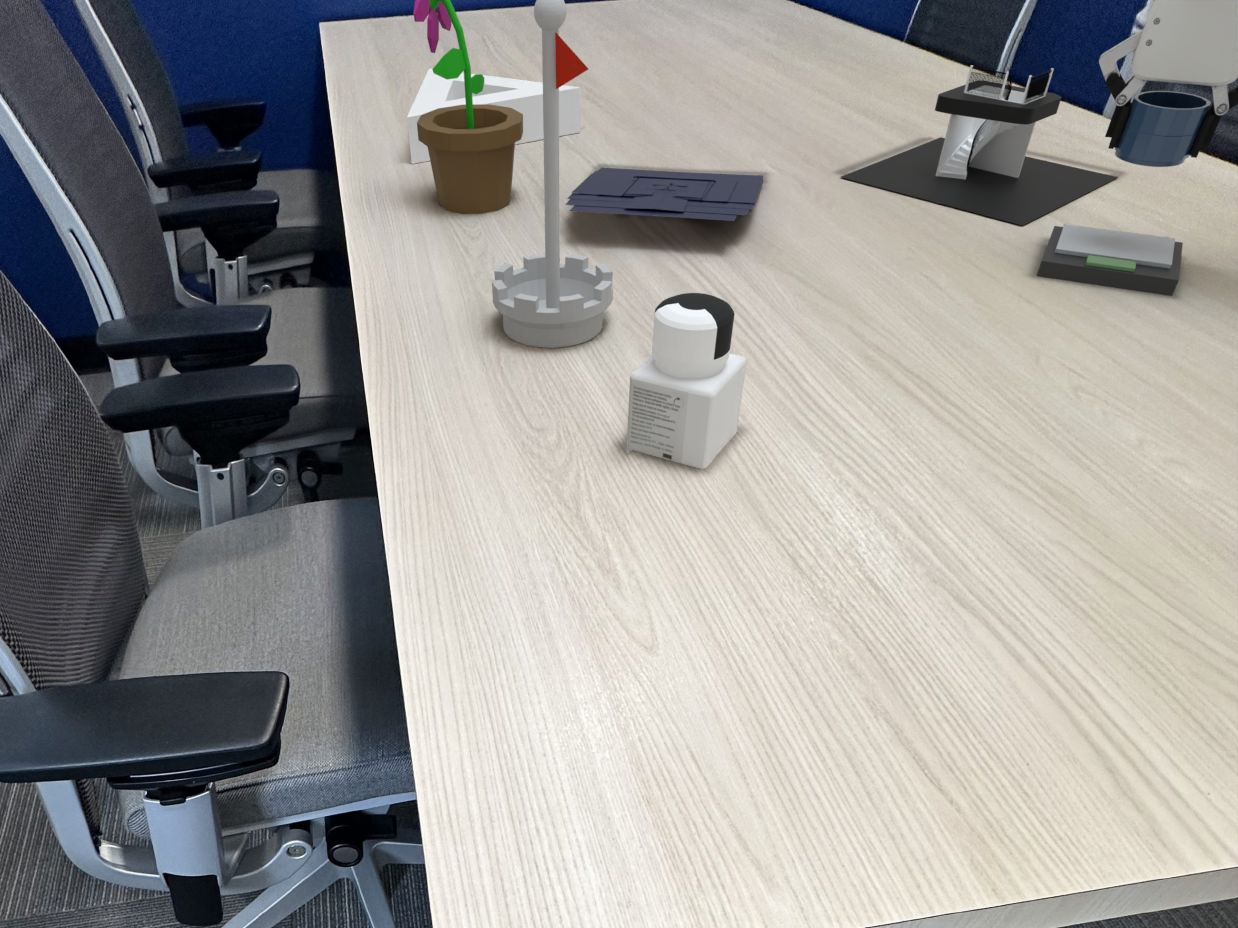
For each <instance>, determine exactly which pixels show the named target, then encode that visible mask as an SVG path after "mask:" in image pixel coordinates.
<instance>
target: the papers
mask: <svg viewBox="0 0 1238 928" xmlns="http://www.w3.org/2000/svg"><path fill="white" fill-rule="evenodd" d="M763 183H764V175H761V174H758V175H757V174H736V173H734V174H733V173H714V172H713V173H711V172H689V171H671V170H670V171H669V170H653V169H635V168H619V167H603V166H602V167H600V168H599V169H598V170H595V171H593V173H590V174H589V175H588V176H587V177H586V178H585V179H584V180H583V181H582V182H581V183H580V184H579V185H577V186H576V188H575V189H573V190H572V191H571V194H570V195H569V196H567V198H566V199H567V200H568V201H567V202H565V206H571V208H570V209H569V210H568V212H575V213H576V212H578V213H592V214H593V213H596V214H613V215H629V216H630V215H632V216H648V217H665V218H679V219H680V218H681V219H696V220H713V221H726V222H727V221H729V222H735V220H736V218H737V216H747V215H748V214H749V211H750V210H753V209H754V207H755V205H756V203H757V201H758V198H759V194H760V191H761V188H762V186H763Z"/></svg>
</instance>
